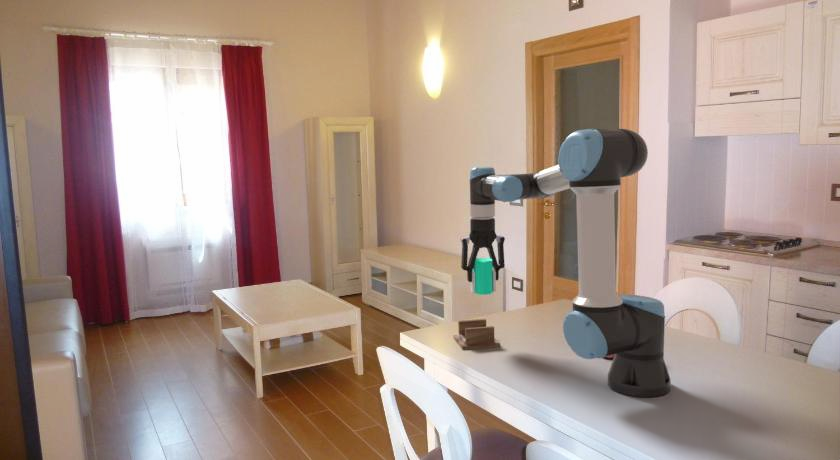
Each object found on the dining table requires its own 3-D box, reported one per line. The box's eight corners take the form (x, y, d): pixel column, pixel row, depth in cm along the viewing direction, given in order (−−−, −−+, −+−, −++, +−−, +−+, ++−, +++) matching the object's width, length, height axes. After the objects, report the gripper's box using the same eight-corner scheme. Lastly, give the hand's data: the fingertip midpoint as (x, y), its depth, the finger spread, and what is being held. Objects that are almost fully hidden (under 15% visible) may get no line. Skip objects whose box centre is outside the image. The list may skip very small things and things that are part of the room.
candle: (470, 293, 192) (470, 255, 191) (478, 289, 197) (477, 252, 196) (488, 295, 189) (488, 256, 188) (495, 291, 195) (495, 253, 193)
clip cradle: (500, 346, 192) (499, 327, 192) (462, 349, 190) (462, 330, 190) (489, 335, 204) (488, 317, 203) (453, 338, 202) (453, 320, 201)
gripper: (508, 215, 195) (508, 286, 199) (449, 217, 192) (450, 290, 196) (516, 217, 188) (515, 292, 191) (455, 220, 185) (456, 295, 188)
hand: (483, 291), depth 193 cm, fingers closed on candle, 6 cm apart
